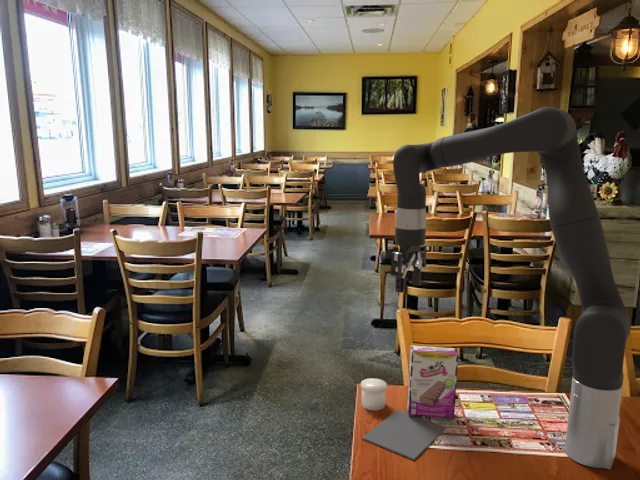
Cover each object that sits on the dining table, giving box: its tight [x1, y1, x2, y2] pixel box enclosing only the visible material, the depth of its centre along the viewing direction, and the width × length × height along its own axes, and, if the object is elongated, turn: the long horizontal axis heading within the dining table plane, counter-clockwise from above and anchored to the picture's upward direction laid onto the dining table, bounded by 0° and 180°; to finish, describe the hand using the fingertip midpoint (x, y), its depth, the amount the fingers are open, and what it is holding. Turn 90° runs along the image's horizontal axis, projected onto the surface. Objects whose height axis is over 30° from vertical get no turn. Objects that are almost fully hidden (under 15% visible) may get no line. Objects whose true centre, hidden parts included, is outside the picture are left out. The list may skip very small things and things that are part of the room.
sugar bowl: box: [360, 377, 388, 411], centre depth 132 cm, size 7×7×6 cm
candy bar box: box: [406, 344, 459, 420], centre depth 127 cm, size 11×5×16 cm, turn 84°
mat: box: [361, 409, 447, 461], centre depth 119 cm, size 13×16×1 cm
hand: (408, 288), depth 133 cm, fingers open, 8 cm apart
